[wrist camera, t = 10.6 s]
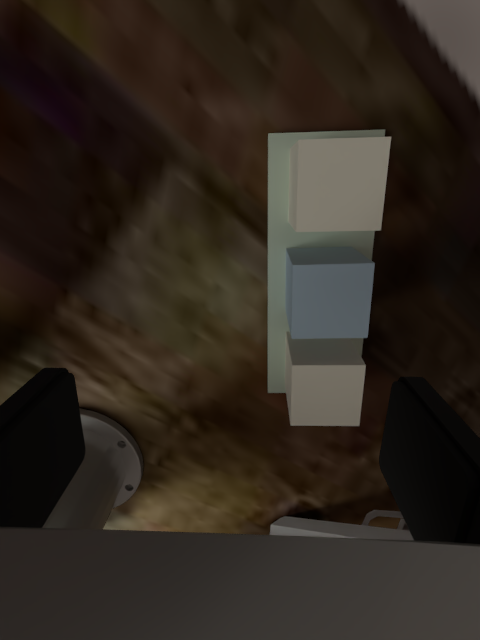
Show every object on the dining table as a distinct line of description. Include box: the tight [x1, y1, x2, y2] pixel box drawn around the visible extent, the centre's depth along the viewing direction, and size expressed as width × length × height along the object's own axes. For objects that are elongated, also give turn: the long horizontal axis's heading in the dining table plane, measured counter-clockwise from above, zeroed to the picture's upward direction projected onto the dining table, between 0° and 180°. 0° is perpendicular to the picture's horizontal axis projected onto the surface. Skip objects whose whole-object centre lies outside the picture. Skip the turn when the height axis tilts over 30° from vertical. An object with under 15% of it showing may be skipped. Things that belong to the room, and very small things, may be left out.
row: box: [268, 130, 391, 426], centre depth 27 cm, size 21×8×7 cm, turn 1°
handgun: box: [270, 510, 414, 540], centre depth 36 cm, size 20×4×11 cm, turn 120°
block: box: [285, 247, 375, 339], centre depth 26 cm, size 5×5×6 cm
